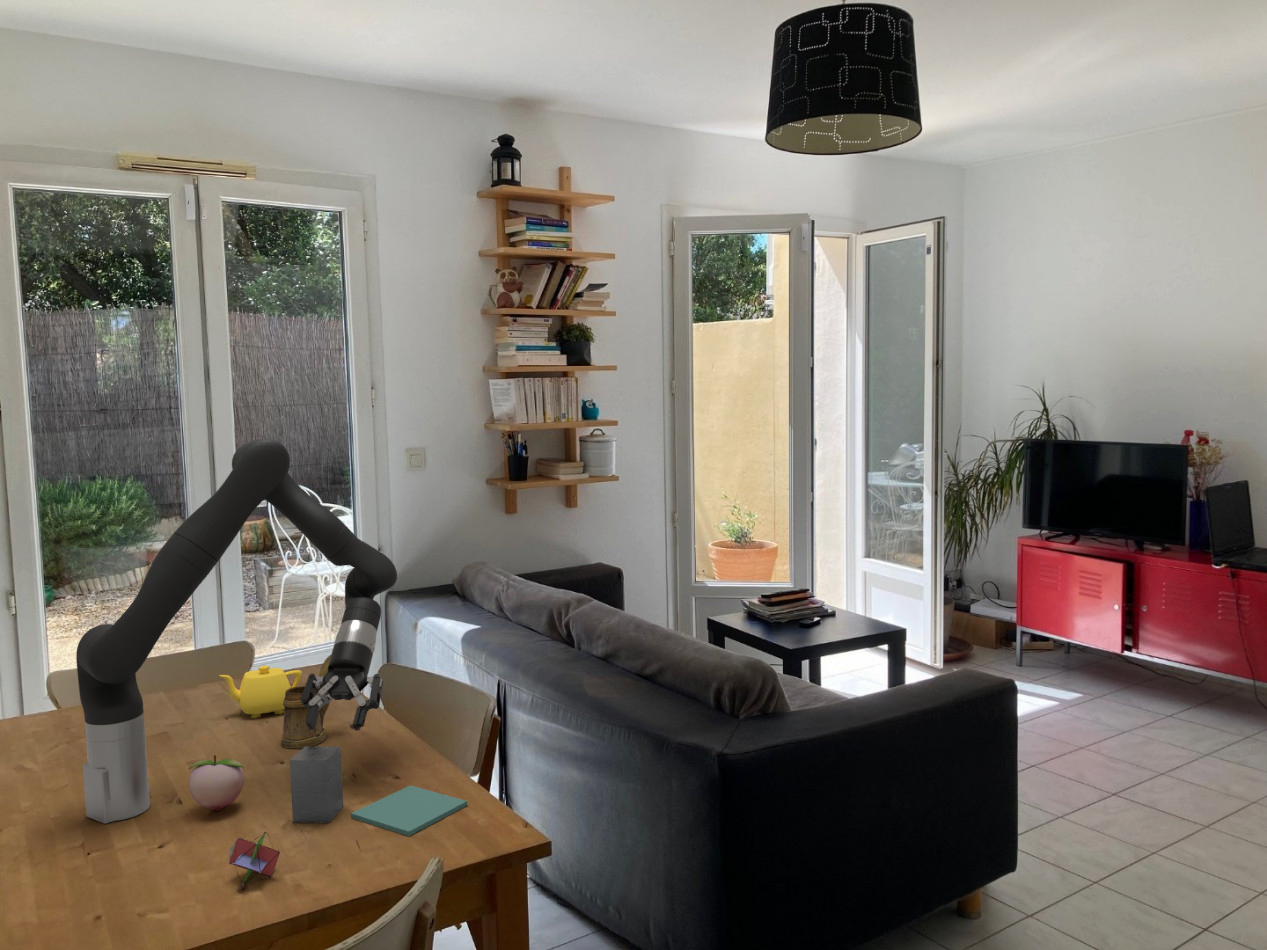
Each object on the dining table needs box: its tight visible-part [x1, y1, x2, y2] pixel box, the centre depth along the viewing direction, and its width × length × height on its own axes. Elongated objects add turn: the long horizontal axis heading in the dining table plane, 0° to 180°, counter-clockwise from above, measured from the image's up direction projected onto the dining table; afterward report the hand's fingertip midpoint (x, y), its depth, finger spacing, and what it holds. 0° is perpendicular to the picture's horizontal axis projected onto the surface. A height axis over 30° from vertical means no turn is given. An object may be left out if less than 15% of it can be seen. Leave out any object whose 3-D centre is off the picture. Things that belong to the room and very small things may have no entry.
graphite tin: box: [289, 746, 344, 824], centre depth 173 cm, size 6×6×11 cm
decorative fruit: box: [187, 754, 245, 811], centre depth 175 cm, size 9×8×10 cm
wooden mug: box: [280, 654, 331, 750], centre depth 211 cm, size 9×14×18 cm, turn 128°
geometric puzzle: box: [228, 830, 282, 886], centre depth 151 cm, size 7×7×8 cm
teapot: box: [218, 665, 303, 719], centre depth 230 cm, size 18×11×11 cm, turn 116°
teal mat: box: [350, 785, 468, 837], centre depth 174 cm, size 14×14×1 cm
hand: (333, 728), depth 180 cm, fingers open, 8 cm apart
